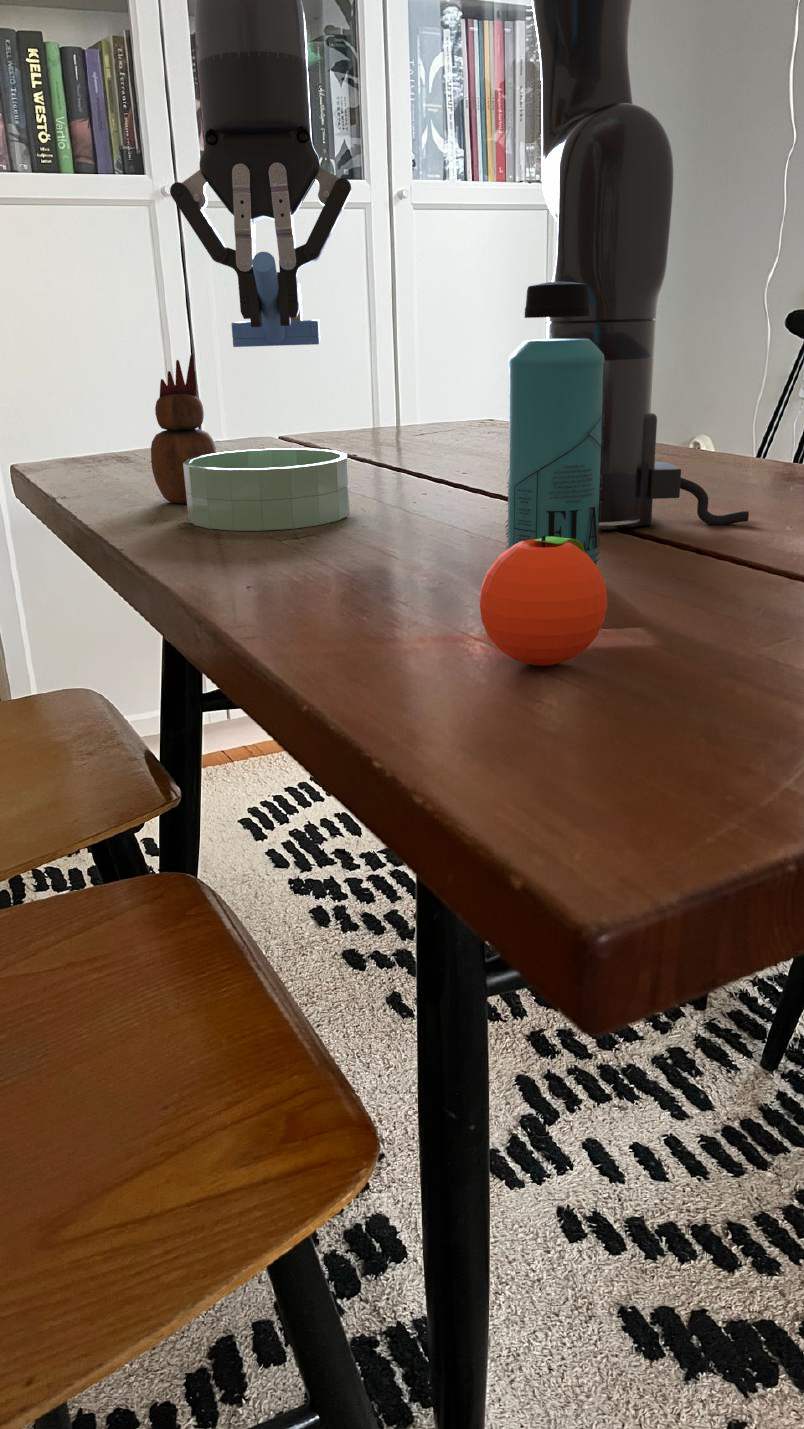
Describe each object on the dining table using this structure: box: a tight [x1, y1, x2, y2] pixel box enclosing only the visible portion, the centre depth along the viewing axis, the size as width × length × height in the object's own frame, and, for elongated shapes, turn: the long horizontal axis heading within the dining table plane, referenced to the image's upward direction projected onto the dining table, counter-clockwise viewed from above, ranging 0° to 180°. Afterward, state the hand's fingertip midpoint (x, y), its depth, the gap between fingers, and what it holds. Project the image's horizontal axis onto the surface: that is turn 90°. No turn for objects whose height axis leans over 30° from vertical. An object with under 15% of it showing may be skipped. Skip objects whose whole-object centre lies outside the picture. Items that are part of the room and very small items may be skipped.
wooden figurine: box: [150, 354, 217, 505], centre depth 112 cm, size 7×6×15 cm
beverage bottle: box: [505, 281, 605, 566], centre depth 71 cm, size 6×7×20 cm
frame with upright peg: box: [230, 251, 322, 348], centre depth 82 cm, size 16×7×6 cm, turn 3°
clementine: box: [478, 535, 609, 667], centre depth 58 cm, size 8×7×7 cm
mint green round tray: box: [183, 447, 350, 532], centre depth 100 cm, size 15×15×6 cm
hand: (271, 325), depth 79 cm, fingers closed on frame with upright peg
